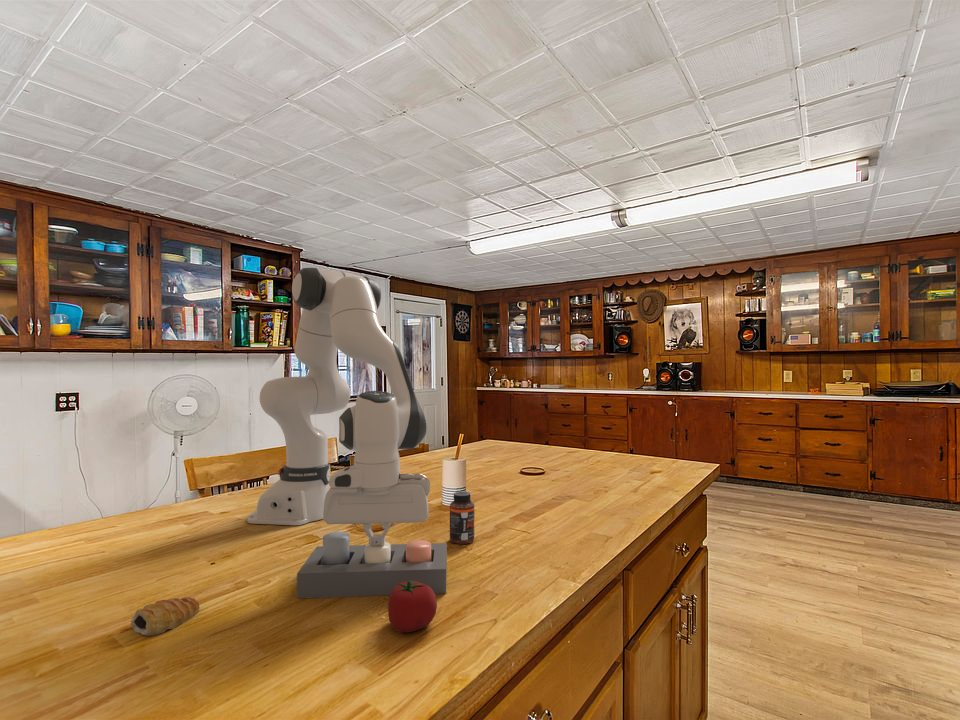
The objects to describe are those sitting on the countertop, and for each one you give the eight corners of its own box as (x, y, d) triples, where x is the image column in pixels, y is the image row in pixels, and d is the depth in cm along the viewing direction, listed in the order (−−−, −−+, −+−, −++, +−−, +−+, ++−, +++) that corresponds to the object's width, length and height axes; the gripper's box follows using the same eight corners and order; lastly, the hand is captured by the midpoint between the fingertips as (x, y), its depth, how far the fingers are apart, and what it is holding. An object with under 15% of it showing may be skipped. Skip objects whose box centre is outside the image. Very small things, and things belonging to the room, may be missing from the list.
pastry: (186, 605, 86) (186, 583, 86) (208, 615, 83) (208, 592, 83) (126, 630, 78) (126, 607, 78) (149, 642, 75) (149, 617, 75)
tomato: (393, 644, 74) (392, 596, 74) (381, 618, 81) (381, 575, 81) (442, 632, 77) (442, 586, 77) (427, 609, 84) (427, 567, 84)
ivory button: (362, 582, 93) (362, 551, 93) (367, 571, 98) (366, 541, 98) (388, 581, 93) (388, 550, 93) (392, 570, 98) (391, 541, 98)
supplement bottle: (471, 546, 113) (471, 497, 113) (446, 544, 114) (446, 496, 114) (476, 537, 119) (476, 490, 119) (453, 535, 120) (453, 489, 120)
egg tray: (297, 598, 88) (297, 573, 88) (316, 568, 101) (316, 546, 101) (446, 593, 90) (446, 568, 90) (446, 564, 103) (446, 542, 103)
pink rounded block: (404, 581, 93) (404, 550, 93) (407, 570, 98) (406, 540, 98) (430, 580, 94) (430, 549, 94) (431, 569, 98) (431, 539, 99)
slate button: (319, 572, 92) (319, 541, 92) (326, 562, 97) (326, 532, 97) (346, 572, 93) (346, 540, 93) (351, 561, 98) (351, 531, 98)
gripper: (430, 469, 99) (430, 537, 99) (329, 471, 98) (329, 540, 98) (429, 477, 93) (429, 549, 93) (320, 479, 92) (320, 552, 92)
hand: (377, 544), depth 95 cm, fingers closed
